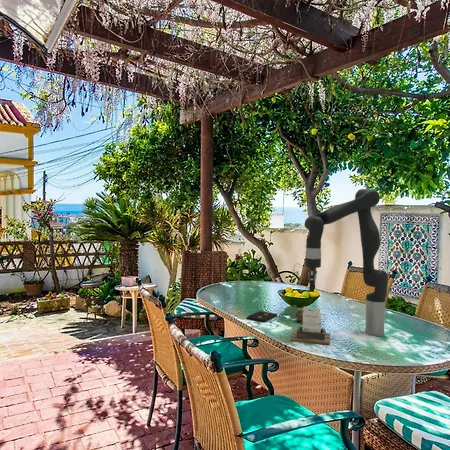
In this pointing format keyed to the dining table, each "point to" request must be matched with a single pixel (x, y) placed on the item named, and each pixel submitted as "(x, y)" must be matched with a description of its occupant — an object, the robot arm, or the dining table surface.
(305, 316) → the ink cartridge box
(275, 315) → the cassette tape
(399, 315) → the dining table surface
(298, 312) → the brown cylinder
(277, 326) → the dining table surface
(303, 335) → the dock
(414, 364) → the dining table surface
